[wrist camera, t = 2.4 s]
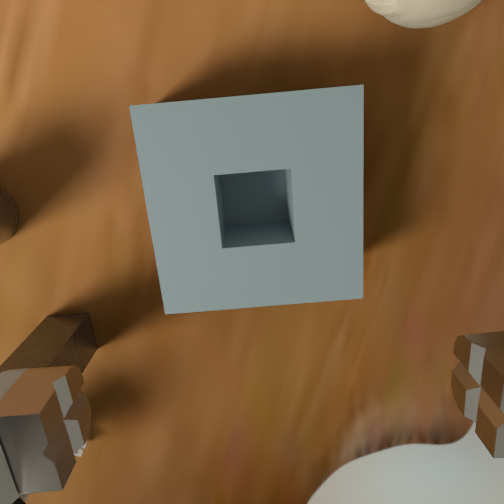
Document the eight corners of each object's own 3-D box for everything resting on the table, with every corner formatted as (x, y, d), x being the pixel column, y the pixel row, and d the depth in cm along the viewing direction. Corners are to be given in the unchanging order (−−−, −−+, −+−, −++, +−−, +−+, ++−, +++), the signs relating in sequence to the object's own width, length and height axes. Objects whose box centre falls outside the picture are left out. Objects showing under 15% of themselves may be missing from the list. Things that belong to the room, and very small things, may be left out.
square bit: (97, 348, 33) (45, 433, 25) (57, 352, 33) (-9, 437, 25) (88, 312, 32) (31, 388, 24) (46, 316, 32) (-25, 392, 24)
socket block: (341, 262, 31) (363, 298, 25) (179, 276, 31) (164, 314, 25) (339, 88, 27) (363, 84, 21) (153, 105, 27) (129, 105, 21)
